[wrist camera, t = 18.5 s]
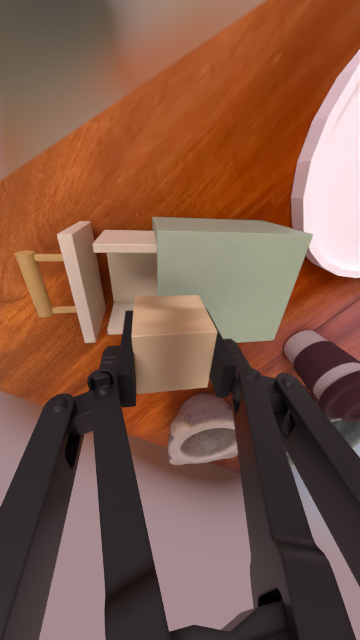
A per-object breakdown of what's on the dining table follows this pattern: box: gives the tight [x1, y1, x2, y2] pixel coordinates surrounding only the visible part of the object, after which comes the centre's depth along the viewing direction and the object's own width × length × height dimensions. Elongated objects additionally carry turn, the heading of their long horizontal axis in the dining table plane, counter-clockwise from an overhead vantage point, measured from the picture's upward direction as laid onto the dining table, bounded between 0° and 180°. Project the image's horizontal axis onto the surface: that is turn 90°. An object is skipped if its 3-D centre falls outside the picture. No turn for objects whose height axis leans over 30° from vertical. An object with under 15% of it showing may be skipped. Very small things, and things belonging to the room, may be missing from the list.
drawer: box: [15, 221, 157, 343], centre depth 24 cm, size 19×12×8 cm, turn 87°
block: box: [131, 295, 217, 394], centre depth 15 cm, size 5×5×5 cm
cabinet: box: [152, 217, 313, 343], centre depth 26 cm, size 15×13×10 cm
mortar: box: [168, 393, 238, 465], centre depth 44 cm, size 17×17×9 cm
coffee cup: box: [284, 330, 360, 422], centre depth 36 cm, size 10×10×15 cm
